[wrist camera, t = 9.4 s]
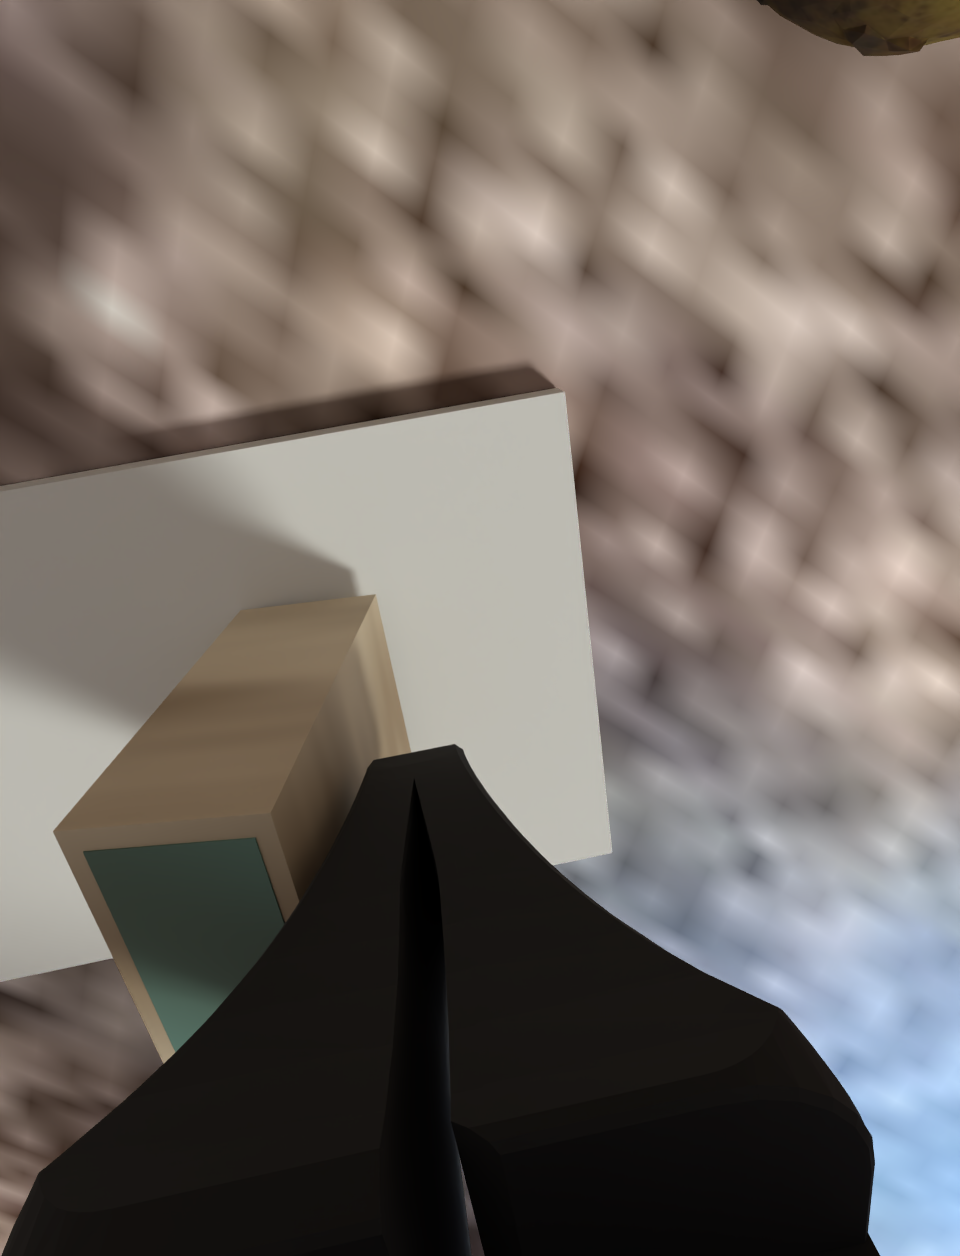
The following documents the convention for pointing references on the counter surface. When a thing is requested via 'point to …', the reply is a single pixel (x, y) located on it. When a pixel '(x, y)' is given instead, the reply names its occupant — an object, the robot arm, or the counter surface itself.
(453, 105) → the counter surface
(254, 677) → the green-faced wooden block
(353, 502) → the mat
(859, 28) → the potato
